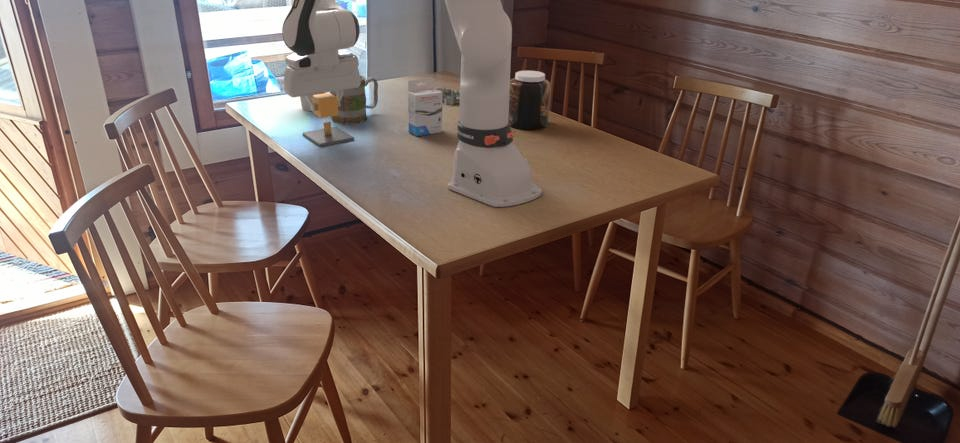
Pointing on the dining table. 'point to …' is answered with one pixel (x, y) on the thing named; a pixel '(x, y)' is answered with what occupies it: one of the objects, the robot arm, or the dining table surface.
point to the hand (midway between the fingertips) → (325, 108)
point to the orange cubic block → (325, 105)
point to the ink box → (424, 107)
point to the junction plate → (328, 135)
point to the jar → (529, 101)
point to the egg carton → (446, 96)
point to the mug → (355, 103)
